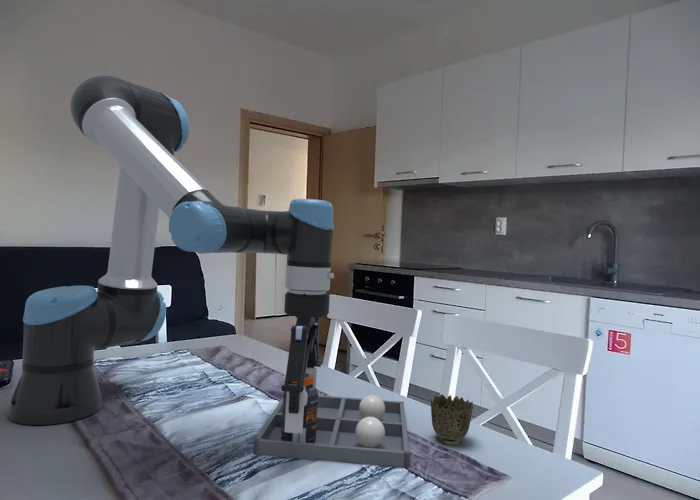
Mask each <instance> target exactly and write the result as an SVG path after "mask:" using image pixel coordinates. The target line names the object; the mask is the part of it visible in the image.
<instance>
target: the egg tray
mask: <svg viewBox="0 0 700 500" xmlns="http://www.w3.org/2000/svg"><path fill="white" fill-rule="evenodd" d="M362 399H363V398H360V397H359V398H358V397H346V396H345V397H343V396H333V395H320V394H318V410H317V429H316V441H315V443H304V442H292V441H281V426H282V409H283V397H281V399H280V401H279V402H278V403H277V406H276V407H275V408H274V409H273V411H272V413H271V414H270V415H269V417H268V419H267V421H265V423H264V425H263V426H262V428H261V429H260V431H259V432H258V433H257V435H256V436H255V438H254V440H253V453H252V454H253V455H254V456H266V457H276V458H287V459H299V460H301V459H302V460H310V461H311V460H312V461H321V462H322V461H325V462H334V463H345V464H358V465H368V466H369V465H370V466H381V467H382V466H383V467H392V468H402V469H410V455H411V454H410V446H409V445H410V444H409V436H408V427H407V419H406V412H405V402H404V401H398V400H383V399H382V401H383V402H384V405H385V413H384V415H383V417H382V418H381V419H380V421H381V422H382V424H383V426H384V429H385V437H384V440H383V442H382V443H381V444H380V445H379V446H378V447H376V448H365V447H363V446H362V445H360V444H359V442H358V441H357V439H356V435H355V430H356V426H357V424H358V423H359V421H360V420H362V419H363V418H362V416H361V415H360V412H359V405H360V402H361V400H362Z"/></svg>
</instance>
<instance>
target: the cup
mask: <svg viewBox="0 0 700 500" xmlns="http://www.w3.org/2000/svg"><path fill="white" fill-rule="evenodd" d="M473 403H474V402H473V401H469V399H467V400H464V398H463V397H459V396H456V395H455V396H454V398H453V399H452V395H451V394H450V395H448V396H447V397H446V396H445V395H444V394H443V393H442V394H440V395H438V396H437V395H436V394H435V395H434V396H433V400H432V398H430V410H431V411H430V413H431V414H430V415H431V424H432V427H433V431H434V432H435V434H436V435H437V436H438V437H439V438H438V440H439V441H440V442H441V443H443V444H446V445H451V446H452V445H459V444H460V443H461V439H463V438H465V437H466V436H467V434H468V432H469V429H470V426H471V419H472V413H473V408H474V404H473Z"/></svg>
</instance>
